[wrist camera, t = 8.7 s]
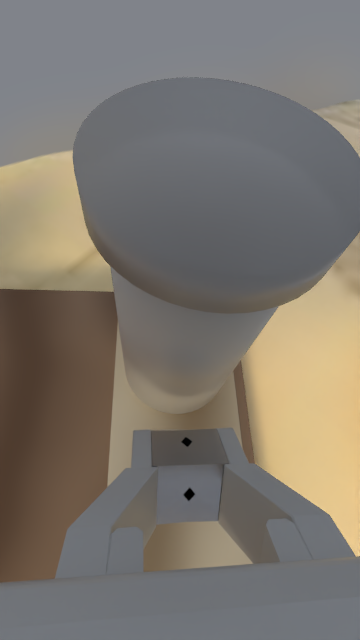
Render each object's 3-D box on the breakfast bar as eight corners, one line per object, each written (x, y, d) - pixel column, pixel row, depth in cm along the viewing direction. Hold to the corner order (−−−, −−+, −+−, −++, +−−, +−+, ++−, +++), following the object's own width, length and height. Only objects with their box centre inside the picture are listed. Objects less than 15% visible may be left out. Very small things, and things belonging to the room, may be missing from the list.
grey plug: (112, 424, 14) (49, 268, 5) (119, 311, 17) (89, 66, 7) (239, 421, 15) (418, 280, 5) (226, 313, 18) (327, 89, 8)
